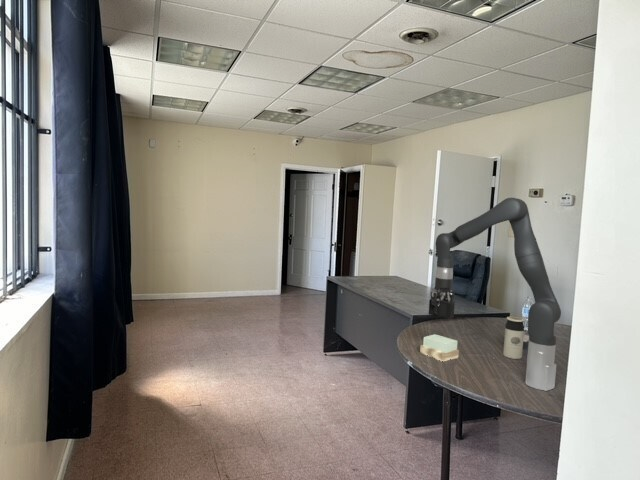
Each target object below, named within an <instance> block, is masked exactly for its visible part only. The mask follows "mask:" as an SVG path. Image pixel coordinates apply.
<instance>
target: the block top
mask: <svg viewBox="0 0 640 480" xmlns="http://www.w3.org/2000/svg"><path fill="white" fill-rule="evenodd" d="M422 345H423V346H426V347H429V348H432V349H435V350H438V351H441V352H444V353H448V352H451V351H454V350H458V340H456V339H453V338H449V337H447V336H442V335H438V334H435V333H434V334H430V335H427V336H424V337H423V344H422Z"/></svg>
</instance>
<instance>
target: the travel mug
mask: <svg viewBox="0 0 640 480" xmlns="http://www.w3.org/2000/svg"><path fill="white" fill-rule="evenodd" d="M506 320H507V321H506V323H505V326H504V327H505V328H504V337H505V338H504V337H503V340H504V344H503V352H502V353H503V354H502V355H503V356H504V357H505V358H508V359H511V360H513V359H514V360H520V359H522V358H523V350H524V348H523V338H524V335H525V326H524V322H525V319H524V318H521V317H517V316H507V317H506Z"/></svg>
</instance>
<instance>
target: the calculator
mask: <svg viewBox="0 0 640 480" xmlns="http://www.w3.org/2000/svg"><path fill="white" fill-rule="evenodd" d="M504 338H505V336H503V342H502V343H503V345H504ZM528 344H529V334H528V335H527V334H524V338H523V350H524V349H525V350H526V349H527V350H528Z"/></svg>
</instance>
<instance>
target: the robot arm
mask: <svg viewBox="0 0 640 480" xmlns="http://www.w3.org/2000/svg"><path fill="white" fill-rule="evenodd" d="M507 221H508V222H509V224H510V226H511V230H512V233H513V237H514V238H513V241H514V242H513V243H514V245H513V249H514V257H515V262H516V264H517V267H518V270H519V272H520V274H521V275H522V277H523V279H524V280H525V282H526V283H527V284H528V285H529V288H530V290H531V293H532V296H533V299H534V303H533V304H532V305H530V308H529V310H528V317H527V334H528V336H529V344H528V348H527V357H526V358H527V359H526V370H525V372H526V373H525V384H526V386H528V387H531V388H532V389H536V390H541V391H545V392H547V391H550V390H552V389H555V386H556V385H555V384H556V373H557V363H555V360H556V359H555V358H556V357H555V356H556V347H557V345H556V344H557V337H556V335H555V332H554V331H555V323H557V322H558V321H559V320H560V319H561V316H562V311H561V307H560V304H559V303H558V300H557V298H556V296H555V293H554V291H553V288H552V285H551V282H550V278H549V276H548V272H547V268H546V265H545V262H544V258H543V256H542V253H541V249H540V246H539V244H538V242H537V238H536V236H535V233H534V231H533V227H532V223H531V217H530V212H529V208H528V205H527V204H526V202H525V201H524V200H522V199H520V198H516V197H508V198H504V199H503V200H501V201H500V202H499V203H498V204H496V205H495V206H494V207H492V208H490V209H489V210H487V211H486V212H484V213H482V214H481V215H478V216H477V217H474V218H472V219H471V220H468V221H467V222H465V223H463V224H460V225H458V226H457V227H456V228H455V229H454V230H452V231H451V232H446V233H445V232H444V233H439V234H438V235H437V236H436V239H435V250H436V257H437V259H436V269H435V279H434V287H435V291H431V292H430V299H431V304H432V305H434V306H435V310H434V313H435V314H437V315H439V312H440V307H439V306H440V304H441V302H442V301H443V300H444V301H449V302H454V299H455V295H456V294H455V293H456V292H455V290H452V288H453V277H454V270H453V269H454V268H453V267H454V256H453V255H452V254H451V249H453V248H455V247H457V246H459V245H461V244H462V243H464V242H466V241H468V240H470V239H473V238H474V237H477V236H479V235H480V234H483V232H485V231H486V230H488V229H489V228H491V227H493V226H495V225H497V224H500V223H504V222H507ZM437 301H438V303H437Z"/></svg>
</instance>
